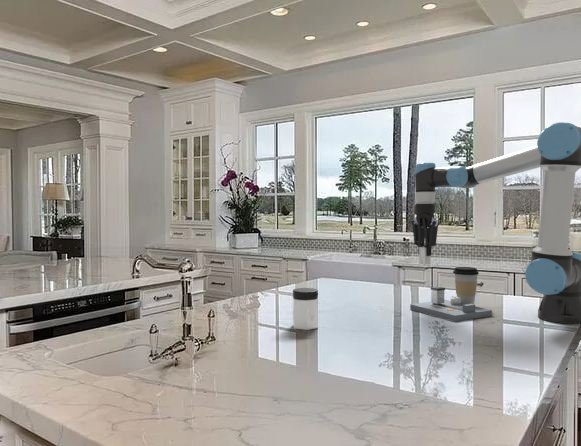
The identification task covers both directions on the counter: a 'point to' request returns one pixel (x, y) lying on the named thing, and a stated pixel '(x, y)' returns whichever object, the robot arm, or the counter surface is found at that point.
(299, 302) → the jar
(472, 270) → the coffee cup
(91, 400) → the counter surface
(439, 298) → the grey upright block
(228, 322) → the counter surface
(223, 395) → the counter surface
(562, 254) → the robot arm
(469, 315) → the console
